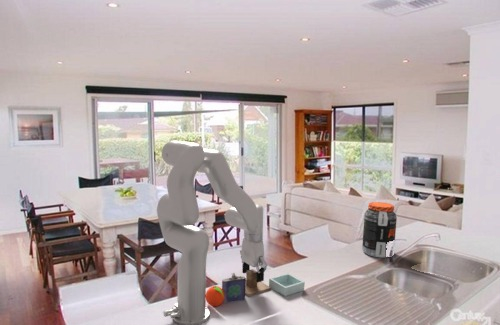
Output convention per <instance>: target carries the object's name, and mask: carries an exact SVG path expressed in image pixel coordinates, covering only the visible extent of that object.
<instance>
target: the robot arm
mask: <svg viewBox="0 0 500 325" xmlns="http://www.w3.org/2000/svg"><path fill="white" fill-rule="evenodd" d="M161 156H162V157H161V158H162V160H163V162H165V163H166V164H167V165H169V166H172V168H171V170H170V172H169V174H168V176H167V179H166V189H167V193H165V194H163V195H162V196H160V198H159V200H158V202H157V206H156V213H157V218H158V219H157V220H158V222H159V228H160V230H161V234H162V238H163V240H164V242H165V244H166V245H167V246H169V247H170V248H172V249H175V250H176V251H179V252H180V253H181V256H180V258H179V260H178V263H177V300H176V301H177V303H174V307H172V308H171V309H167V310H164V311H163V312H162V313H163V317H164V318H165V317H166V318H167V317H170V319H172V320H173V321H174V322H175V323H177V324H180V325H201V324H204V323H205V322H207V321H208V320H209V318H210V316H211V310H210V309H209V308H208V307H207V306H206V304H207V301H206V292H207V288H206V286H207V257H208V251H209V246H210V236H209V234H208V233H207V232H206V231H205V230H204V229H203V228H201V227H199V226H197V225H196V223H198V221H199V218H200V210H199V209H200V208H199V204H198V199H197V194H196V190H195V177H196V175H197V172H199V173H203V174H205V176H206V178H207V180H208V182H209V183H210V186H211V188H212V189H213V192H214V193H215V194H214V195H216V196H217V197H218V198H219V199H221V200H222V201H224V202H225V203H227V204H228V205H230V206H232V207H230V208H228V209H227V210H226V212H225V213H224V220H225V223H226V224H227V225H229V226H231V227H234V228H237V229H241V230H243V239H242V242H241V250H239V254H240V258H241V264H242V272H241V273H243V274H246V272H247V270H251V269H250V267H251V268H255V270H256V271H257V273H256V282H257V283H258V282H263V281H265V280H264V279H265V272H266V270H267V267H268V263H267V261H266V260H265V247H264V246H265V245H264V206H262V205H260V204H257V203H255V201H254V200H253V199H252V197H250V195H249V194H248V193H247V192H246V191H245V190H244V189H243V188H242V187H241V186H240V185H238V183H237V180H236V178H235V176H234V175H233V172H232V170H231V168H230V166H229V163H228V161H227V158H226V157H225V155H224V154H223V153H222V152H221V151H219V150H217V149H216V150H215V149H212V148H211V149H210V148H209V149H208V148H204V147H203V146H202V145H201V144H199V143H196V142H191V141H181V140H170V141H168V142H166V143H164V145H163V146H162V149H161Z"/></svg>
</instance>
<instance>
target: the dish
mask: <svg viewBox="0 0 500 325" xmlns="http://www.w3.org/2000/svg"><path fill="white" fill-rule="evenodd" d="M268 279H269V281H268V286H269V287H271V290H273V291H276V292H277V293H279V295H282V296H283V297H288V296H291V295H294V294H296V293H300V292H304V291H305V281H303V280H301V279H300V278H298V277H296V276H294V275H292V274H291V273H284V274H280V275H277V276H273V277H269V278H268Z"/></svg>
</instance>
